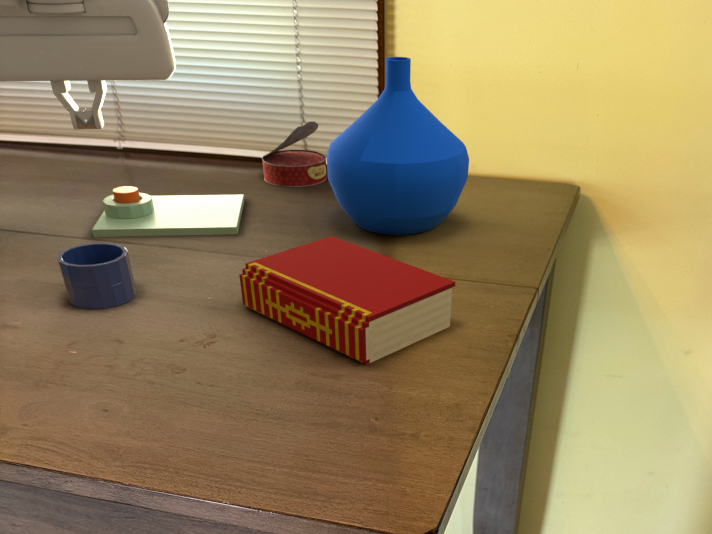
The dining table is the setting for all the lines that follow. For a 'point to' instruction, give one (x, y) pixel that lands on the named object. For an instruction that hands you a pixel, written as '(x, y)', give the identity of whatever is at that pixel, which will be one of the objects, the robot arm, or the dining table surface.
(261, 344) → the dining table surface
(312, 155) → the canned food
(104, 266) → the cup
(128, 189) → the button
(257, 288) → the book
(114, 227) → the scale
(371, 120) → the vase
